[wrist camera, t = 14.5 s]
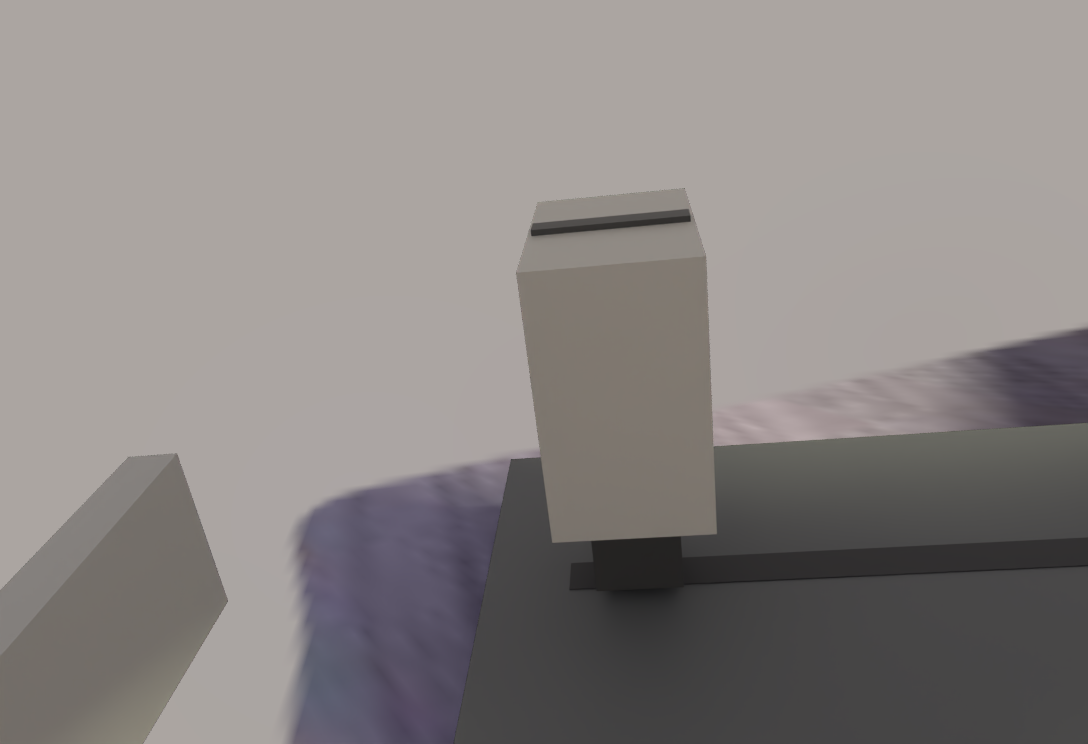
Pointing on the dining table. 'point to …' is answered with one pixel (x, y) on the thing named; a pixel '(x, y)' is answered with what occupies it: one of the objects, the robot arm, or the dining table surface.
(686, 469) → the fader knob
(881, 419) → the dining table surface
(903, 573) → the console
